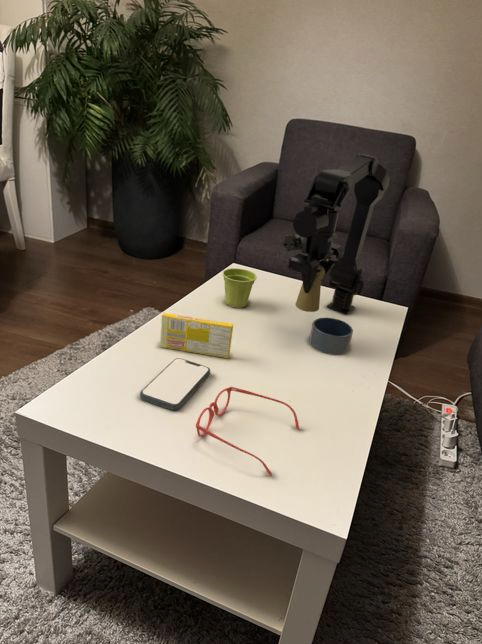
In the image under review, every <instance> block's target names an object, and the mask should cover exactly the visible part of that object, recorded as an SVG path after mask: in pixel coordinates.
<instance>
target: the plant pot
mask: <svg viewBox="0 0 482 644" xmlns="http://www.w3.org/2000/svg"><path fill="white" fill-rule="evenodd" d="M221 275H222V277H223V281H224V302H225V305H229V306H230V307H232V308H238V309H240V308H241V309H242V308H243V307H246V306H247V305H248V302H249V298H250V295H251V292H252V288H253V285H254V284H255V281H256V280H257V278H258V276H257V274H256V273H255V272H253V271H251V270H248V269H244V268H239V267H237V268H236V267H232V268H226V269H224V270H223V271H222V272H221Z"/></svg>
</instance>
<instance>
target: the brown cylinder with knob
mask: <svg viewBox="0 0 482 644" xmlns="http://www.w3.org/2000/svg"><path fill="white" fill-rule="evenodd" d="M318 269H319V270H321V273H320V274H319V276H318V278H317V279H316V281H315V283H314V285H313V286H312V288H311V290H310V291H309V293H305V292H304V288H303V282H302V284H301V286H300V289H299V292H298V296H297V298H296V301H295V304H294V305H295V307H296V309H299V310H301V311H303V312H306V313H307V312H308V313H315V312H318V311H319V310H320V302H321V288H322V287H321V286H322V282H321V280H322V279H323V277H324V275H325V270H324V268H323V267H322V266H321V265H319V266H318ZM323 280H324V279H323Z"/></svg>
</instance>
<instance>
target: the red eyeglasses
mask: <svg viewBox="0 0 482 644" xmlns="http://www.w3.org/2000/svg"><path fill="white" fill-rule="evenodd" d="M224 392H227V399H226V404H225V406H224V408H223V410H222V411H221V412H220V413H219V407H218V404H217V403H218V400H219V398H220V396H221V395H222V394H223V393H224ZM231 392H236V393H241V394H245V395H250V396H254V397H259V398H262V399H265V400H266V399H267V400H269V401H273V402H276V403H280V404H282V405H284V406H286V407H287V408H288V409H289V410H290V411H291V412H292V415H293V416H294V417H293V418H294V423H295V424H294V425H295V428H296V430H298V431H299V430H300V425H299V420H298V416H297V414H296V411H295V409H294V408H293V407H292V406H291V405H290V404H288V403H287V402H284V401H282V400H279V399H277V398H272V397H269V396H266V395H262V394H259V393H256V392H253V391H250V390H245V389H242V388H238V387H234V386H229V387H226V388H224V389H222V390H221V391H219V392H218V394H217V395H216V397H215V399H214V401H213V402H210V403H209V405H208V406H207V407H205V408H203V410H202V411H201V413H200V415H199V416H198V418H197V421H196V423H195V428H196V433H197V436H198V437H199V438H203V437H205V435H208V436H209V437H212V438H214V439H216V440H218V441H220V442H222V443H224V444H226V445H228V446H230V447H231V448H234V449H236V450H237V451H240V452H242V453H244V454H246V455H249V456H251V457H253V458H254V459H256V460H258V461H259V462H260V463H261V464H262V466H263V467H264V469H265V471H266V473H267V474H268V475H270V476H272V475H273V473H272V472H271V470H270V469H269V467H268V466H267V464H266V463H265V462H264V461H263V460H262V459H261V458H259V457H258V456H256V455H255V454H253V453H251V452H249V451H247V450H245V449H243V448H241V447H239V446H236V445H235V444H233V443H231V442H229V441H227V440H225V439H223V438H222V437H220V436H218V435H217V434H215V433H213V432H212V431H210V430H209V428H210V426H211V424H212V421H213V419H214V417H215V416H217V417H221V416H222V415H223V414H224V413H226V411H227V408H228V406H229V403H230V401H231V400H230V399H231ZM206 411H208V420H207V421H208V422H207V424H206V428H205V427H203V426H201V424H200V423H201V419H202V417H203V415H204V413H205V412H206ZM200 431H201V432H202V434H201V432H200Z"/></svg>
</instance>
